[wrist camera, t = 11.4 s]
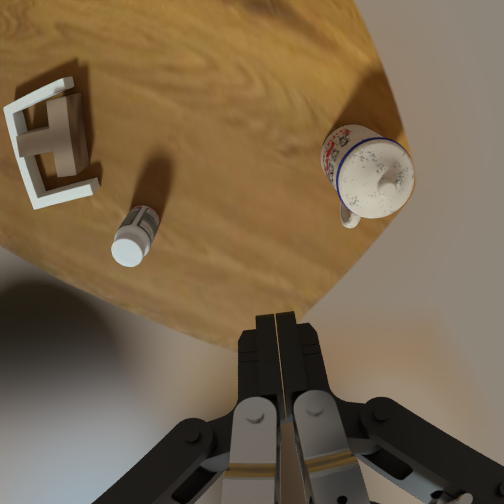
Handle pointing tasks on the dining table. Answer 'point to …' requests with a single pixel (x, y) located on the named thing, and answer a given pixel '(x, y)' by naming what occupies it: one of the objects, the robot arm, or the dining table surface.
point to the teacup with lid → (366, 173)
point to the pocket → (29, 163)
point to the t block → (60, 136)
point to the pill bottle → (135, 236)
